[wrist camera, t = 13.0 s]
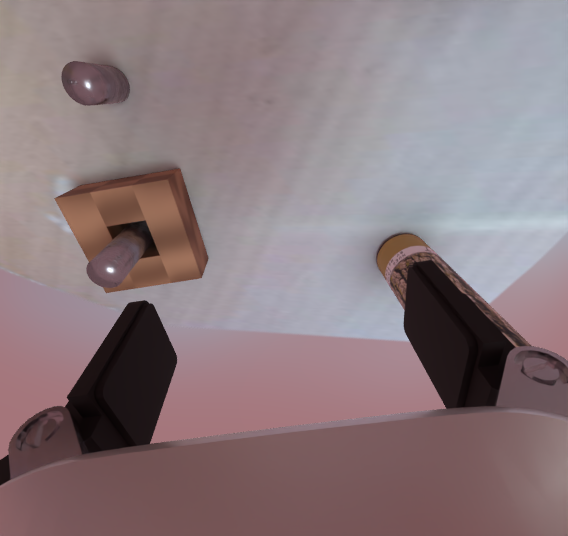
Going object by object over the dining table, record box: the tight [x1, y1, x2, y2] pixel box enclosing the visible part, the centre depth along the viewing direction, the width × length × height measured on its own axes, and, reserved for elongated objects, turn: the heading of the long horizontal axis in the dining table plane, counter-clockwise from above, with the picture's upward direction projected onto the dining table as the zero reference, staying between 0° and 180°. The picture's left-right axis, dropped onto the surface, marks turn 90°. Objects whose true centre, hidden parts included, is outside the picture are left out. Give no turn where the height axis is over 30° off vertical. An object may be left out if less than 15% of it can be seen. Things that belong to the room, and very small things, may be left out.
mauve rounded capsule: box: [62, 61, 130, 105], centre depth 29 cm, size 3×3×6 cm
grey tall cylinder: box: [87, 220, 154, 288], centre depth 34 cm, size 3×3×12 cm
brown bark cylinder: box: [377, 234, 531, 347], centre depth 32 cm, size 7×7×25 cm
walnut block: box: [55, 169, 208, 293], centre depth 37 cm, size 12×12×5 cm
